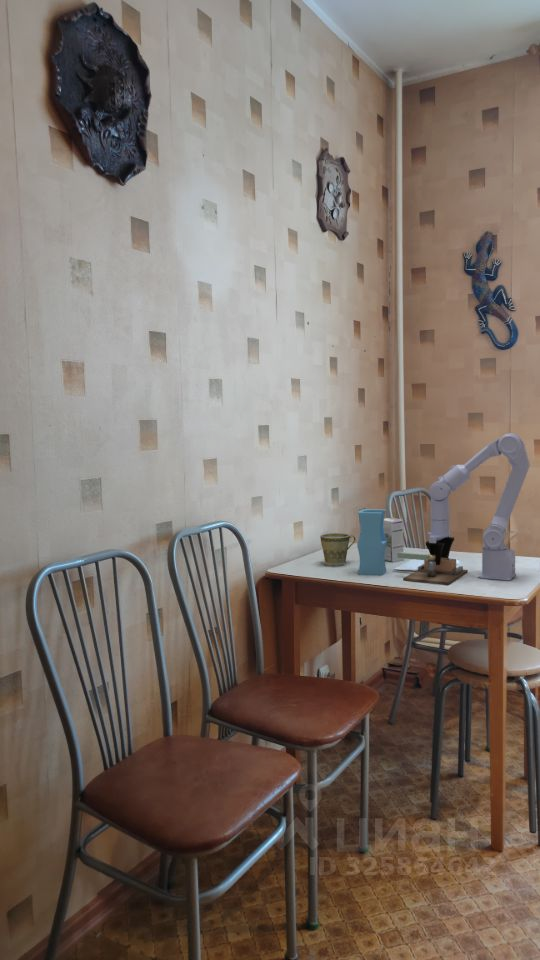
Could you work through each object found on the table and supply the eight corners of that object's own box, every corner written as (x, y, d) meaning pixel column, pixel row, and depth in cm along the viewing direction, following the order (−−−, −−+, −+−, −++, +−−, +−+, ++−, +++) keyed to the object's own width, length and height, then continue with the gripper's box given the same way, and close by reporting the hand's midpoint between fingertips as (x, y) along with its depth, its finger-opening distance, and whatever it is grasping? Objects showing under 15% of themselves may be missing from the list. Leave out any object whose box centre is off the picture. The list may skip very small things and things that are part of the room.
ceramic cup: (329, 568, 237) (329, 538, 236) (315, 563, 246) (315, 534, 245) (363, 564, 242) (362, 535, 241) (348, 559, 251) (347, 531, 250)
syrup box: (404, 560, 247) (403, 518, 245) (391, 562, 243) (391, 520, 242) (392, 557, 251) (392, 517, 250) (380, 560, 248) (379, 518, 247)
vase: (382, 575, 223) (381, 512, 222) (357, 574, 226) (356, 512, 224) (387, 570, 231) (386, 509, 229) (363, 569, 234) (362, 509, 232)
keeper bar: (436, 560, 217) (436, 554, 217) (433, 561, 215) (433, 556, 215) (399, 556, 223) (399, 551, 223) (396, 558, 221) (396, 553, 221)
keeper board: (467, 572, 225) (467, 555, 224) (448, 585, 209) (448, 566, 208) (425, 568, 232) (425, 551, 232) (403, 580, 216) (403, 562, 216)
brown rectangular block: (456, 571, 223) (456, 558, 223) (452, 574, 220) (452, 560, 219) (428, 568, 228) (428, 556, 227) (424, 571, 224) (424, 558, 224)
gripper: (435, 515, 230) (435, 557, 232) (419, 521, 218) (419, 565, 219) (456, 516, 227) (457, 558, 228) (441, 523, 214) (442, 567, 216)
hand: (440, 562), depth 223 cm, fingers open, 7 cm apart
